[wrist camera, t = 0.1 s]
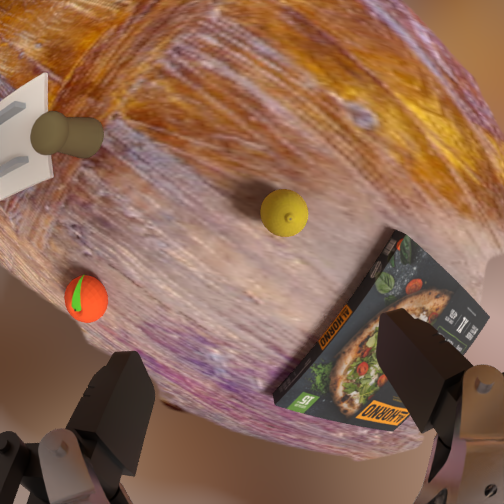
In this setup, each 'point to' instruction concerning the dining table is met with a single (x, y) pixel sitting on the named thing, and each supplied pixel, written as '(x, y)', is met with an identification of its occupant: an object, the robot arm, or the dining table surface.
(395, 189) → the dining table surface
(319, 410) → the pizza box
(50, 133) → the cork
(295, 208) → the lemon
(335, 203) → the dining table surface
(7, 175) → the U-rest
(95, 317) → the clementine
